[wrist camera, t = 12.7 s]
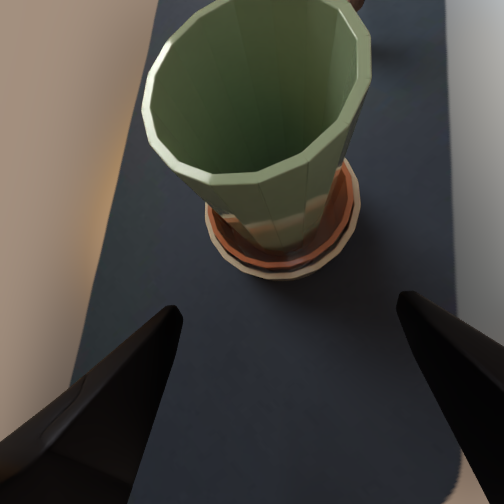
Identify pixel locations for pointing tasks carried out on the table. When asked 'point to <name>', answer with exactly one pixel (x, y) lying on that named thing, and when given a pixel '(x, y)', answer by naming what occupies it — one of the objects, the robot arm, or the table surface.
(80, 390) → the robot arm
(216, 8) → the tumbler
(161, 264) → the table surface
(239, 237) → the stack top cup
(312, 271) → the stack base cup
